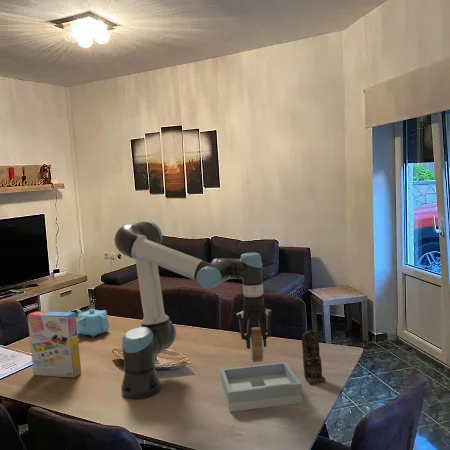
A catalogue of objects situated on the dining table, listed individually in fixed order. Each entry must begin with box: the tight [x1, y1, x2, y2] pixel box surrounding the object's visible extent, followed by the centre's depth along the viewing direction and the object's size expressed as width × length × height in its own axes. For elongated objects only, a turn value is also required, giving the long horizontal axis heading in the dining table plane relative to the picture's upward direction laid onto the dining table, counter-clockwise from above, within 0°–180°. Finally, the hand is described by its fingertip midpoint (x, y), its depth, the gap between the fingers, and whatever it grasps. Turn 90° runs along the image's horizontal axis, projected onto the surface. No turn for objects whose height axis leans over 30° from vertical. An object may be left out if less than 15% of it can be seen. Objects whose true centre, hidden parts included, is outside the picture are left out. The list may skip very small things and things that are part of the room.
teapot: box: [75, 308, 110, 338], centre depth 250 cm, size 18×16×14 cm
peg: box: [250, 326, 264, 363], centre depth 171 cm, size 4×4×12 cm
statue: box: [301, 330, 326, 385], centre depth 178 cm, size 7×7×20 cm
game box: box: [26, 311, 82, 379], centre depth 197 cm, size 21×6×27 cm, turn 74°
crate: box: [220, 361, 303, 413], centre depth 169 cm, size 26×20×7 cm
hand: (256, 355), depth 171 cm, fingers closed on peg, 4 cm apart
